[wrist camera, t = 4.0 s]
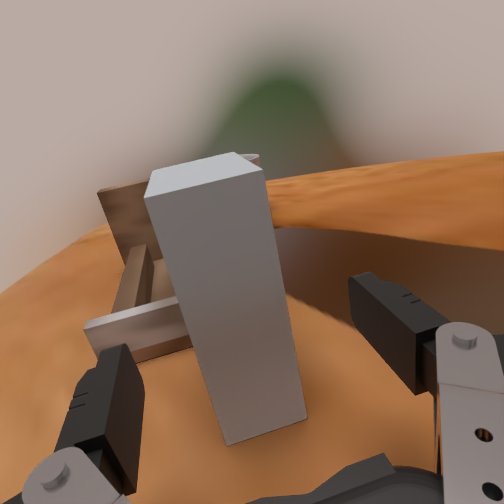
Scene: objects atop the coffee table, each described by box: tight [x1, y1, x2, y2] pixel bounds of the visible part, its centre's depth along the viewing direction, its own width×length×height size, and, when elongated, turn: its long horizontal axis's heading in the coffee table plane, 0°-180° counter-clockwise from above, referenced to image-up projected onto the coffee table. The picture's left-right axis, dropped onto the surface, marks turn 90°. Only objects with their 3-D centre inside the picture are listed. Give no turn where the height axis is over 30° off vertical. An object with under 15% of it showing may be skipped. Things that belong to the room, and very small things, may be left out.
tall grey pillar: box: [144, 152, 307, 446], centre depth 16 cm, size 4×6×12 cm, turn 13°
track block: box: [83, 178, 193, 363], centre depth 28 cm, size 12×16×9 cm
